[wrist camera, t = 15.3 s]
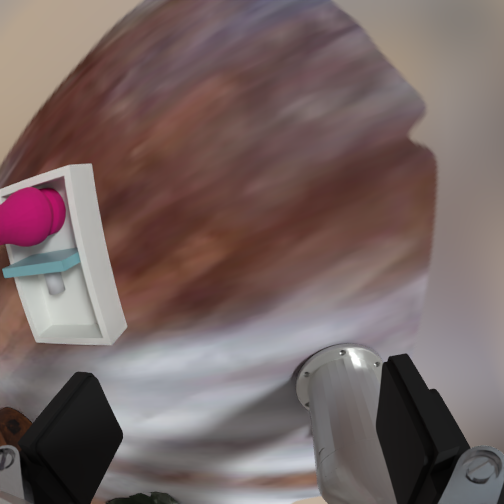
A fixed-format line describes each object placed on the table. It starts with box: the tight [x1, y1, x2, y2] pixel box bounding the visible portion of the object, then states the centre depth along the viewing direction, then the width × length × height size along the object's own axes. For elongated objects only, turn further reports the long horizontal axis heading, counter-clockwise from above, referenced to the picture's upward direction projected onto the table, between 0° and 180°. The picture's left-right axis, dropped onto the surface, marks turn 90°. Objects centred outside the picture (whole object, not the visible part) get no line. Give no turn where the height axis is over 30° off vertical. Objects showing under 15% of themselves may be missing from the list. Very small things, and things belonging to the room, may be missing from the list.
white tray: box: [0, 164, 127, 345], centre depth 37 cm, size 22×14×5 cm, turn 8°
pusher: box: [2, 248, 81, 295], centre depth 35 cm, size 5×11×7 cm, turn 98°
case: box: [0, 408, 32, 452], centre depth 44 cm, size 18×20×18 cm
